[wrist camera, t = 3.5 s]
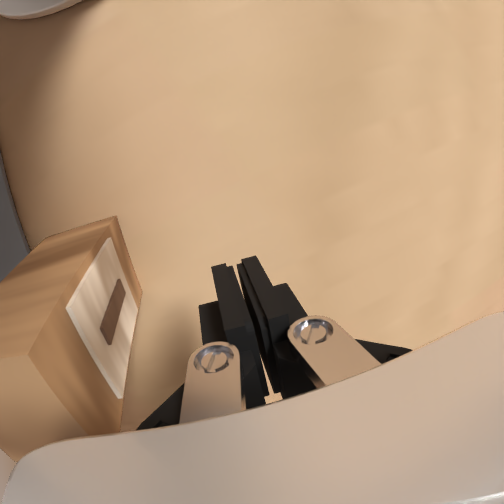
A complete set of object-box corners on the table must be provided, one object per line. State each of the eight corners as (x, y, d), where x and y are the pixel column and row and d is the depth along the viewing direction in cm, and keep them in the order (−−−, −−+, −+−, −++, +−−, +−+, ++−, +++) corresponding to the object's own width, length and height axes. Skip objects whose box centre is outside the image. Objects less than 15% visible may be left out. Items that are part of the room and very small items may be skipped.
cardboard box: (45, 238, 16) (-68, 366, 5) (121, 213, 16) (37, 353, 6) (75, 307, 18) (14, 461, 7) (147, 290, 19) (126, 464, 8)
